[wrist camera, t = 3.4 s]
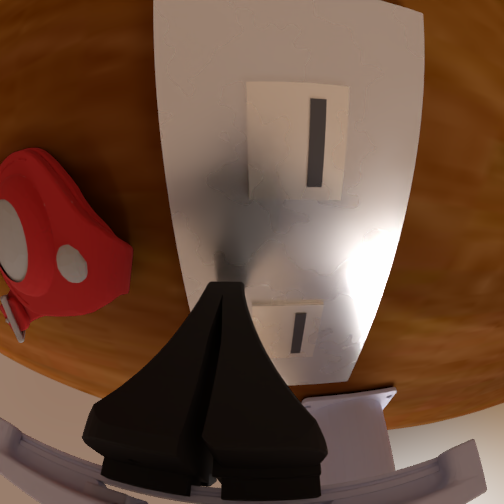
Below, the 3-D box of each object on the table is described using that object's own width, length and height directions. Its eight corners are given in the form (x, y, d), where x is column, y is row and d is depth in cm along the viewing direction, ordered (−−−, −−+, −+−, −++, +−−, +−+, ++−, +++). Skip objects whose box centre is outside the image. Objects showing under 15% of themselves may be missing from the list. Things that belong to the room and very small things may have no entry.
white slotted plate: (344, 368, 18) (348, 384, 16) (210, 372, 18) (208, 388, 17) (410, 17, 6) (426, 12, 5) (162, 3, 7) (150, -5, 6)
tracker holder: (-26, 143, 8) (92, 170, 7) (32, 139, 12) (162, 165, 11) (-9, 335, 12) (99, 421, 11) (31, 309, 16) (137, 374, 15)
